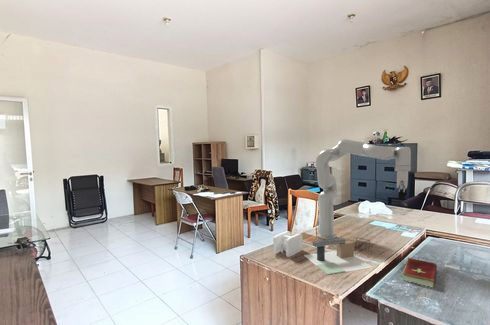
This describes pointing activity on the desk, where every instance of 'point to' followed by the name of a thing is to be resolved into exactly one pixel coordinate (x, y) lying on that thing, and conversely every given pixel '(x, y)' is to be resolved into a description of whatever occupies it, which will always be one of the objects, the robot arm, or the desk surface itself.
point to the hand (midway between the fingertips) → (402, 197)
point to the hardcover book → (420, 272)
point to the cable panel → (339, 260)
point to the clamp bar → (328, 242)
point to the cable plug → (321, 253)
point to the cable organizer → (287, 243)
